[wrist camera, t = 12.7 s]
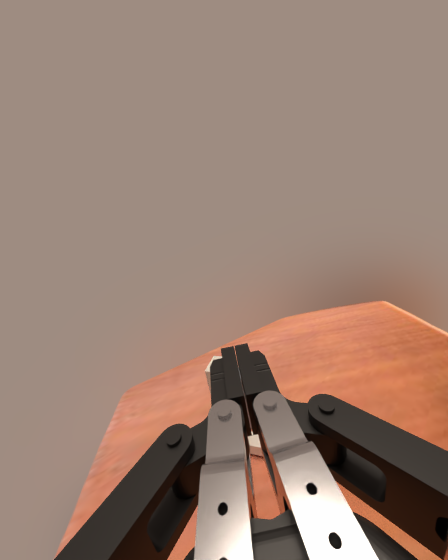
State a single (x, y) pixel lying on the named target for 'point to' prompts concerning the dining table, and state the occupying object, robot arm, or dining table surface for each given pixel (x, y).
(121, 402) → the dining table surface
